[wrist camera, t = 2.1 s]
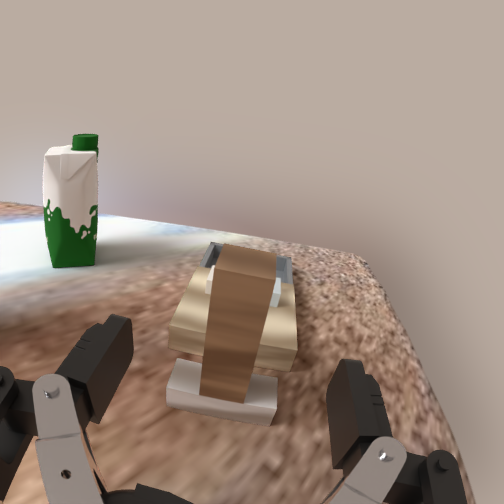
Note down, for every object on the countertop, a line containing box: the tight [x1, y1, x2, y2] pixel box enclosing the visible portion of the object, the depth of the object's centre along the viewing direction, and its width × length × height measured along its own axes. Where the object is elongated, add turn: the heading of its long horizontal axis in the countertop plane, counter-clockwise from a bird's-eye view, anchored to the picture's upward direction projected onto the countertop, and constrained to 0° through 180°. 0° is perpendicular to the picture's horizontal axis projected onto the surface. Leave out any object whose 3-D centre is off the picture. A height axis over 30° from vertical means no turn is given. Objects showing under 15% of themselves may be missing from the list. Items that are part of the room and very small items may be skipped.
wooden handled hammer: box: [166, 244, 278, 426], centre depth 26 cm, size 4×10×16 cm, turn 85°
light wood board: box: [168, 266, 298, 372], centre depth 40 cm, size 14×14×4 cm
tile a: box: [205, 265, 215, 294], centre depth 41 cm, size 4×4×2 cm
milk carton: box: [43, 134, 98, 268], centre depth 43 cm, size 9×9×20 cm
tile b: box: [270, 278, 281, 307], centre depth 41 cm, size 4×4×2 cm
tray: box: [199, 242, 293, 284], centre depth 51 cm, size 10×14×3 cm
